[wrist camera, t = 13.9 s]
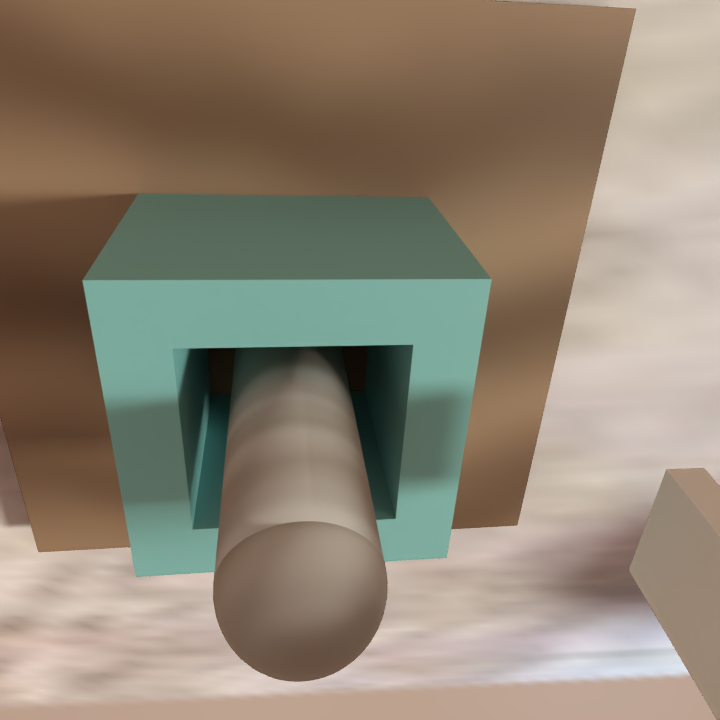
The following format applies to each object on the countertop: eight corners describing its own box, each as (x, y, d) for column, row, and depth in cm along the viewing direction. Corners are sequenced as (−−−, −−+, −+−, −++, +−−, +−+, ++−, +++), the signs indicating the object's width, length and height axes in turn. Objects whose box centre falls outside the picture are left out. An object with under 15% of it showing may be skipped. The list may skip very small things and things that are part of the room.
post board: (-94, -32, 15) (-1061, -92, 4) (609, 7, 18) (1192, 35, 7) (50, 522, 24) (-136, 975, 13) (505, 499, 27) (675, 867, 15)
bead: (138, 193, 17) (82, 280, 12) (428, 197, 18) (491, 278, 13) (168, 433, 21) (136, 576, 16) (405, 426, 22) (446, 557, 17)
